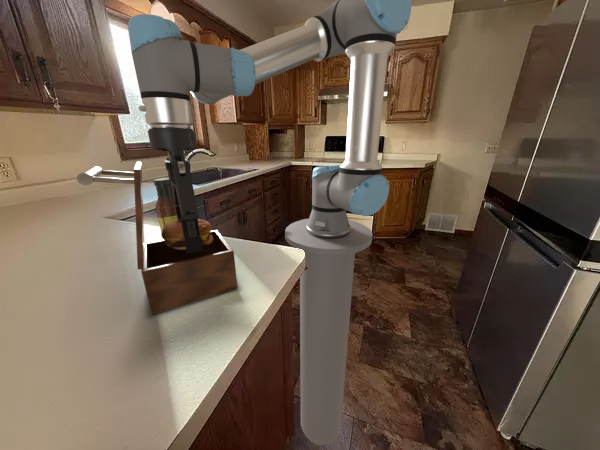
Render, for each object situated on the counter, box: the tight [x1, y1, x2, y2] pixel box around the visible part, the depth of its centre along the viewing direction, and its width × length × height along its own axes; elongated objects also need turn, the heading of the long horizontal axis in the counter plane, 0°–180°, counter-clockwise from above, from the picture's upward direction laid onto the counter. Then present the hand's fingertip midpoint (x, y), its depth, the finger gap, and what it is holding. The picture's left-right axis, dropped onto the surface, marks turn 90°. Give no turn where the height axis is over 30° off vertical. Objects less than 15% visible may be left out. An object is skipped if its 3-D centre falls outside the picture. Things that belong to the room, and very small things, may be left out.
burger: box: [160, 218, 213, 250], centre depth 50 cm, size 10×9×5 cm
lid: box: [76, 161, 145, 270], centre depth 42 cm, size 16×14×8 cm
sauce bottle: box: [153, 177, 178, 240], centre depth 66 cm, size 6×6×20 cm
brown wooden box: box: [140, 229, 239, 315], centre depth 51 cm, size 16×14×9 cm
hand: (190, 241), depth 51 cm, fingers closed on burger, 10 cm apart
